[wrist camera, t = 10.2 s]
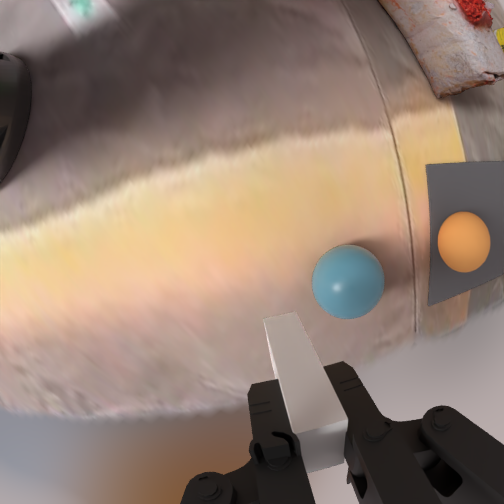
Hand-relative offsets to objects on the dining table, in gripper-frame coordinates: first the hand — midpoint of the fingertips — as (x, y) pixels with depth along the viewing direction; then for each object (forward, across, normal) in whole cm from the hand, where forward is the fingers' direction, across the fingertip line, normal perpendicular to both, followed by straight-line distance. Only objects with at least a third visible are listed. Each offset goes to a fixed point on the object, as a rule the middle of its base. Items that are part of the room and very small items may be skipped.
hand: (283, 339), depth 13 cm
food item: (+11, +20, +20) cm, 30 cm away
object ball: (+7, +19, -1) cm, 20 cm away
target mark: (+10, +23, -1) cm, 25 cm away
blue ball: (+7, +6, -1) cm, 10 cm away
